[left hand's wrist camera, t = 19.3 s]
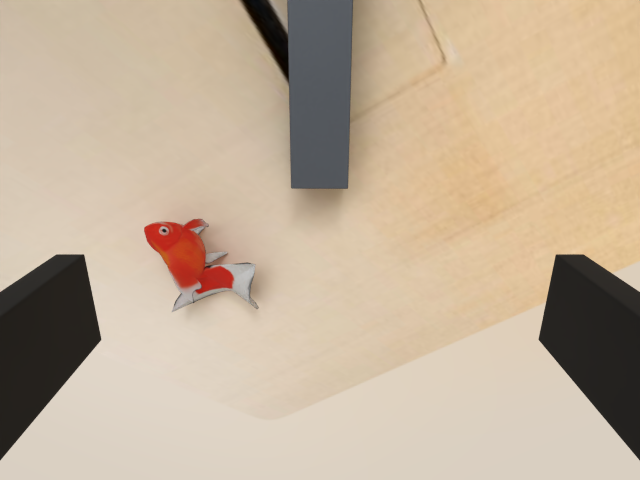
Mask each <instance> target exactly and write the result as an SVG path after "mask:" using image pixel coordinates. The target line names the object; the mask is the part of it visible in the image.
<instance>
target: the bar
mask: <svg viewBox="0 0 640 480" xmlns="http://www.w3.org/2000/svg"><path fill="white" fill-rule="evenodd" d="M287 1H288V51H289V101H290V152H291V188H309V189H348V167H349V129H350V91H351V53H352V15H353V0H287Z"/></svg>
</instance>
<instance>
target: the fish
mask: <svg viewBox="0 0 640 480" xmlns="http://www.w3.org/2000/svg"><path fill="white" fill-rule="evenodd" d="M208 226H209V225H208V224H207V223H206V222H204V221H203V220H202V219H193V220H191V221H189V222H188V223H186V224H185V225H181V224H177V223H173V222H155V223H152V224H150V225H148V226H146V227H145V228H144V232H145V235H146V238H147V242H148V243H149V244H150V246H151V247H152V248H153V249H154V250H156V251H157V252H158V253H160V255H161V256H162V258H163V260H164V261H165V263H166V264H167V265H168V269H169V271H170V273H171V276H172V278H173V280H174V282H175V284H176V286H177V288H178V290H179V291H180V292H181V294H180V296H179V297H178V299H177V300H176V302H175V304H174V307H173V310H172V312H173V311H176V310H178V309H180V308H182V307H184V306H186V305H188V304H191V303H194V302H195V301H198V300H200V299H202V298H204V297H207V296H210V295H213V294H215V293H218V292H222V291H228V290H231V291H234V292H235V293H236V294H238V295H239V296H241V297H242V298H243V299H244V300H246V301H247V302H248V303H250V304H251V305H252V306H254V307H255V308H256V309H258V308H259V307H258V306H257V304H256V302H255V301H254V300H253V299H251V298H250V289H251V283H252V280H253V277H254V271H255V264H251V263H240V264H223V265H212V266H206V267H205V263H211V262H213V261H214V260H216V259H218V258H219V257H221V256H223V255H225V254H227V252H215V253H209V254H206V252H205V247H204V244H203V242H202V240H201V238H200V237H199V233H200V232H201V231H202V230H203V229H204V228H205V227H208Z"/></svg>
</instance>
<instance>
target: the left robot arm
mask: <svg viewBox="0 0 640 480" xmlns="http://www.w3.org/2000/svg"><path fill="white" fill-rule="evenodd" d="M100 341H101V335H100V331H99V326H98V321H97V316H96V311H95V306H94V301H93V296H92V291H91V286H90V281H89V277H88V272H87V267H86V262H85V257H84V255H55V256H54V257H52V258H51V259H49V260H48V261H46V262H45V263H43V264H42V265H40V266H39V267H37V268H36V269H34V270H33V271H31V272H30V273H28V274H27V275H25V276H24V277H22V278H21V279H19V280H18V281H16V282H15V283H13V284H12V285H10V286H9V287H7V288H6V289H4V290H3V291H1V292H0V460H1V459H2V458H3V456H4V455H5V454H6V453H7V452H8V450H9V449H10V448H11V447H12V446H13V444H14V443H15V442H16V441H17V440H18V438H19V437H20V436H21V435H22V434H23V433H24V431H25V430H26V429H27V428H28V427H29V425H30V424H31V423H32V422H33V421H34V419H35V418H36V417H37V416H38V415H39V413H40V412H41V411H42V410H43V409H44V407H45V406H46V405H47V404H48V403H49V402H50V400H51V399H52V398H53V397H54V396H55V394H56V393H57V392H58V391H59V390H60V388H61V387H62V386H63V385H64V384H65V382H66V381H67V380H68V379H69V378H70V376H71V375H72V374H73V373H74V372H75V370H76V369H77V368H78V367H79V366H80V365H81V363H82V362H83V361H84V360H85V359H86V357H87V356H88V355H89V354H90V353H91V351H92V350H93V349H94V348H95V347H96V345H97V344H98V343H99V342H100ZM539 341H540V342H541V343H542V344H543V345H544V347H545V348H546V349H547V350H548V351H549V353H550V354H551V355H552V356H553V357H554V359H555V360H556V361H557V362H558V363H559V365H560V366H561V367H562V368H563V369H564V370H565V372H566V373H567V374H568V375H569V376H570V378H571V379H572V380H573V381H574V382H575V384H576V385H577V386H578V387H579V388H580V390H581V391H582V392H583V393H584V394H585V395H586V397H587V398H588V399H589V400H590V402H591V403H592V404H593V405H594V406H595V407H596V409H597V410H598V411H599V412H600V413H601V415H602V416H603V417H604V418H605V419H606V420H607V422H608V423H609V424H610V425H611V427H612V428H613V429H614V430H615V431H616V433H617V434H618V435H619V436H620V437H621V439H622V440H623V441H624V442H625V443H626V444H627V446H628V447H629V448H630V449H631V450H632V452H633V453H634V454H635V455H636V456H637V458H638V459H639V460H640V292H639V291H637V290H636V289H634V288H633V287H631V286H630V285H628V284H627V283H625V282H624V281H622V280H621V279H619V278H618V277H616V276H615V275H613V274H612V273H610V272H609V271H607V270H606V269H604V268H603V267H601V266H600V265H598V264H597V263H595V262H594V261H592V260H591V259H589V258H588V257H586V256H585V255H556V257H555V262H554V267H553V272H552V277H551V281H550V286H549V291H548V296H547V301H546V306H545V311H544V316H543V321H542V326H541V331H540V335H539Z"/></svg>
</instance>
